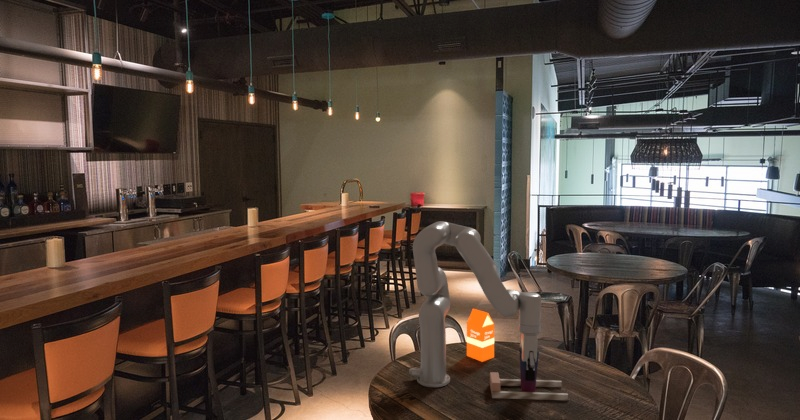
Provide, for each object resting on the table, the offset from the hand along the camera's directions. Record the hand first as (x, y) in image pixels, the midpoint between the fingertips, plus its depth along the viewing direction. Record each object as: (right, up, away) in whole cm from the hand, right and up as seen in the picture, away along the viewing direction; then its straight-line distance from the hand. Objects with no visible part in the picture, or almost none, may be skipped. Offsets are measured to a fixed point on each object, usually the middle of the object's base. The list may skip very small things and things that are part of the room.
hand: (528, 375), depth 185 cm
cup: (0, -5, +1) cm, 5 cm away
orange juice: (-12, -3, +34) cm, 36 cm away
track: (0, -6, +1) cm, 6 cm away
